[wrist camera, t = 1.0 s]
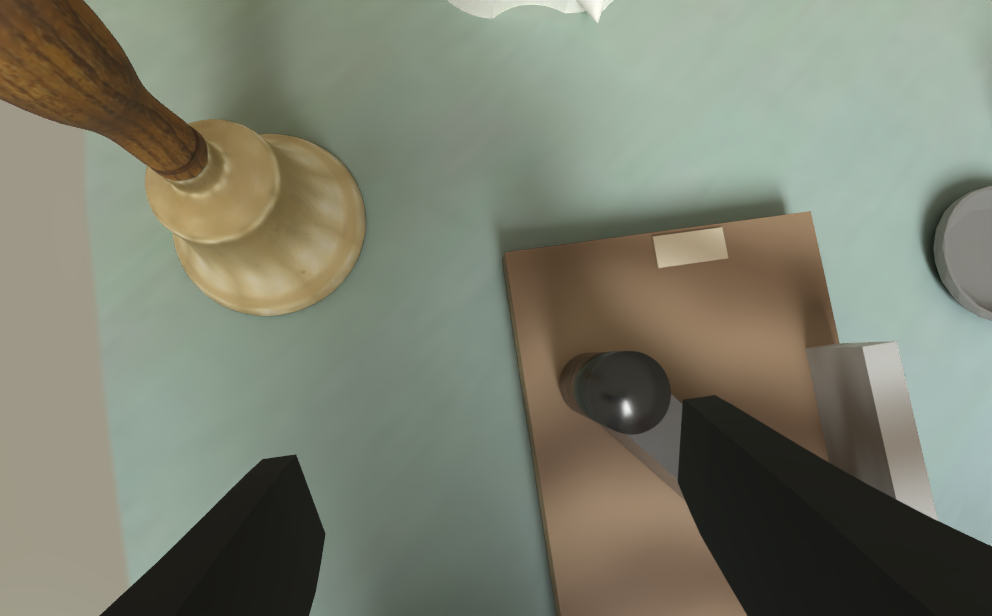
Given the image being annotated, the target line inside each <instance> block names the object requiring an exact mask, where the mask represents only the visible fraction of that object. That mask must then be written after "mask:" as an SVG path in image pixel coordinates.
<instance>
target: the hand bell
mask: <svg viewBox="0 0 992 616" xmlns="http://www.w3.org/2000/svg"><path fill="white" fill-rule="evenodd" d="M0 99H1V100H3V101H6V102H8V103H10V104H12V105H14V106H17V107H19V108H21V109H23V110H26V111H28V112H31V113H33V114H36V115H38V116H41V117H43V118H46V119H49V120H52V121H55V122H58V123H61V124H65V125H70V126H73V127H77V128H81V129H85V130H89V131H93V132H96V133H98V134H101V135H103V136H105V137H107V138H109V139H111V140H112V141H114V142H115V143H117V144H118V145H120V146H121V147H122V148H124V149H125V150H126V151H128V152H129V153H131V154H132V155H133V156H135V157H136V158H137V159H139V160H140V161H141V162H143V163H144V164H146V165H147V169H146V175H145V190H146V195H147V199H148V202H149V204H150V206H151V209H152V211H153V212H154V214H155V216H156V217H157V219H158V220H159V221H160V222H161V223H162V224H163V225H164V226H165V227H166V228H167V229H168V230H170V231H171V232H173V240H174V244H175V248H176V252H177V255H178V257H179V260H180V262H181V264H182V266H183V268H184V270H185V271H186V273H187V274H188V276H189V278H190V279H191V281H192V282H193V283H194V284H195V285H196V286H197V287H198V288H199V289H200V290H201V291H202V292H203V293H204V294H205V295H207V296H208V297H209V298H211V299H213V300H214V301H216V302H217V303H219V304H221V305H222V306H224V307H227V308H229V309H232V310H235V311H238V312H241V313H246V314H251V315H258V316H273V315H282V314H288V313H292V312H296V311H299V310H302V309H304V308H307V307H309V306H311V305H313V304H315V303H317V302H319V301H320V300H322V299H324V298H325V297H327V296H328V295H329V294H331V293H332V292H333V291H334V290H335V289H336V288H337V287H338V286H339V285H340V284H341V283H342V282H343V281H344V280H345V279H346V277H347V276H348V274H349V273H350V272H351V270H352V268H353V267H354V265H355V263H356V262H357V260H358V257H359V255H360V252H361V249H362V245H363V242H364V236H365V230H366V216H365V208H364V202H363V199H362V196H361V193H360V190H359V188H358V186H357V184H356V182H355V180H354V179H353V177H352V176H351V174H350V173H349V171H348V170H347V168H346V167H345V166H344V165H343V164H342V163H341V162H340V161H339V160H338V159H337V158H336V157H334V156H333V155H332V154H331V153H330V152H328V151H327V150H325V149H323V148H322V147H320V146H318V145H316V144H314V143H311V142H309V141H307V140H304V139H301V138H298V137H293V136H288V135H280V134H260V135H259V134H257V133H256V132H255V131H253V130H251V129H249V128H248V127H246V126H244V125H242V124H238V123H234V122H231V121H227V120H217V119H209V120H201V121H197V122H193V123H190V124H187V123H186V122H185V121H183V120H182V119H181V118H180V117H178V116H177V115H176V114H174V113H173V112H172V111H170V110H169V109H168V108H167V107H165V106H164V105H163V104H161V103H160V102H159V101H158V100H157V99H156V98H154V97H153V96H152V95H151V94H150V93H149V92H148V91H147V90H146V89H145V87H144V86H143V84H142V83H141V81H140V80H139V78H138V76H137V74H136V72H135V70H134V68H133V66H132V64H131V63H130V61H129V59H128V57H127V56H126V54H125V52H124V51H123V49H122V47H121V46H120V44H119V43H118V42H117V40H116V39H115V38H114V36H113V35H112V34H111V32H110V31H109V30H108V29H107V27H106V26H105V25H104V24H103V22H102V21H101V20H100V18H99V17H98V16H97V15H96V14H95V13H94V11H93V10H92V9H91V8H90V7H89V6H88V5H87V4H86V3H85V2H84V1H83V0H0Z"/></svg>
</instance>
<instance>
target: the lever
mask: <svg viewBox="0 0 992 616" xmlns="http://www.w3.org/2000/svg"><path fill="white" fill-rule="evenodd" d="M559 386H560V392H561V395H562V398H563V400H564V401H565V403H566V404H567V405H568V406H569V407H570V408H571V409H572V410H573V411H575V412H576V413H578V414H580V415H582V416H585V417H587V418H589V419H591V420H593V421H595V422H597V423H598V424H600V425H601V426H602V427H603V428H604V429H605V430H606V431H607V432H609V433H610V434H611V435H612V436H613V437H614V438H615V439H616V440H618V441H619V442H620V443H621V444H622V445H623V446H624V447H625V448H627V449H628V450H629V451H630V452H631V453H632V454H633V455H634V456H636V457H637V458H638V459H639V460H640V461H641V462H642V463H643V464H645V465H646V466H647V467H648V468H649V469H650V470H651V471H652V472H654V473H655V474H656V475H657V476H658V477H659V478H660V479H661V480H663V481H664V482H665V483H666V484H667V485H668V486H669V487H670V488H672V489H673V490H674V491H675V492H676V493H677V494H678V495H679V496H681V497H682V498H683V499H684V497H683V494H682V492H681V489H680V487H679V485H678V466H679V450H680V435H681V419H682V403H680V402H679V401H678V400H677V399H676V398H675V397H674V396H673V395H671V388H670V383H669V379H668V377H667V375H666V373H665V371H664V369H663V368H662V367H661V365H660V364H659V363H658V362H657V361H656V360H654V359H653V358H652V357H650V356H648V355H646V354H644V353H641V352H637V351H613V352H593V353H583V354H580V355H577V356H575V357H574V358H572V359H571V360H570V361H569V362H568V363H567V364H566V365H565V367H564V368H563V370H562V373H561V376H560V382H559ZM684 500H685V499H684Z"/></svg>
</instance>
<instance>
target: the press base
mask: <svg viewBox="0 0 992 616" xmlns="http://www.w3.org/2000/svg"><path fill="white" fill-rule="evenodd" d="M502 261H503V268H504V274H505V281H506V287H507V294H508V300H509V307H510V313H511V320H512V326H513V333H514V339H515V346H516V352H517V359H518V365H519V372H520V379H521V385H522V392H523V398H524V405H525V411H526V418H527V424H528V431H529V437H530V444H531V450H532V457H533V463H534V470H535V476H536V483H537V489H538V496H539V502H540V509H541V515H542V522H543V528H544V535H545V541H546V548H547V554H548V561H549V567H550V574H551V580H552V587H553V593H554V600H555V606H556V613H557V616H747V614H746V613H745V611H744V609H743V608H742V606H741V604H740V602H739V601H738V599H737V597H736V596H735V594H734V592H733V590H732V589H731V587H730V585H729V584H728V582H727V580H726V579H725V577H724V575H723V573H722V572H721V570H720V568H719V566H718V565H717V563H716V561H715V560H714V558H713V556H712V554H711V553H710V551H709V549H708V547H707V546H706V544H705V542H704V540H703V538H702V537H701V535H700V533H699V531H698V528H697V526H696V524H695V522H694V520H693V517H692V515H691V513H690V511H689V508H688V506H687V504H686V501H685V500H684V499H683V498H682V497H681V496H679V495H678V494H677V493H676V492H675V491H674V490H673V489H672V488H670V487H669V486H668V485H667V484H666V483H665V482H664V481H663V480H661V479H660V478H659V477H658V476H657V475H656V474H655V473H654V472H652V471H651V470H650V469H649V468H648V467H647V466H646V465H645V464H643V463H642V462H641V461H640V460H639V459H638V458H637V457H636V456H634V455H633V454H632V453H631V452H630V451H629V450H628V449H627V448H625V447H624V446H623V445H622V444H621V443H620V442H619V441H618V440H616V439H615V438H614V437H613V436H612V435H611V434H610V433H609V432H607V431H606V430H605V429H604V428H603V427H602V426H601V425H600V424H598V423H597V422H595V421H593V420H591V419H589V418H587V417H585V416H582V415H580V414H578V413H576V412H575V411H573V410H572V409H571V408H570V407H569V406H568V405H567V404H566V403H565V401H564V400H563V398H562V395H561V392H560V386H559V382H560V376H561V373H562V370H563V368H564V367H565V365H566V364H567V363H568V362H569V361H570V360H571V359H572V358H574V357H575V356H577V355H580V354H583V353H593V352H613V351H637V352H641V353H644V354H646V355H648V356H650V357H652V358H653V359H654V360H656V361H657V362H658V363H659V364H660V365H661V367H662V368H663V369H664V371H665V373H666V375H667V377H668V379H669V383H670V388H671V395H673V396H674V397H675V398H676V399H677V400H678V401H679V402H680V403H683V400H684V399H691V398H698V397H705V396H712V395H716V396H717V397H719V398H721V399H723V400H725V401H727V402H728V403H730V404H732V405H733V406H735V407H737V408H739V409H740V410H742V411H744V412H745V413H747V414H749V415H750V416H752V417H753V418H755V419H757V420H758V421H760V422H762V423H763V424H765V425H767V426H768V427H770V428H772V429H773V430H775V431H777V432H778V433H780V434H782V435H783V436H785V437H787V438H788V439H790V440H792V441H793V442H795V443H797V444H798V445H800V446H802V447H803V448H805V449H807V450H808V451H810V452H812V453H814V454H815V455H817V456H819V457H820V458H822V459H824V460H826V461H827V462H829V463H831V464H833V465H834V466H836V467H838V468H840V469H841V470H843V471H845V472H847V473H848V474H850V475H852V476H854V477H856V478H857V479H859V480H861V481H863V482H865V483H866V484H868V485H870V486H872V487H874V488H876V489H878V490H879V491H881V492H883V493H885V494H887V495H889V496H891V497H893V498H895V499H896V500H898V501H900V502H902V503H904V504H906V505H908V506H910V507H912V508H913V509H915V510H917V511H919V512H921V513H923V514H925V515H927V516H929V517H931V518H933V519H935V520H937V521H938V519H937V515H936V510H935V506H934V502H933V497H932V493H931V489H930V484H929V480H928V476H927V471H926V467H925V463H924V458H923V454H922V450H921V445H920V441H919V437H918V432H917V428H916V423H915V419H914V415H913V410H912V406H911V402H910V397H909V393H908V389H907V384H906V380H905V376H904V371H903V367H902V363H901V358H900V354H899V350H898V345H897V341H892V342H868V343H843V344H839V339H838V334H837V330H836V325H835V321H834V316H833V312H832V307H831V302H830V298H829V293H828V289H827V284H826V280H825V275H824V270H823V266H822V261H821V257H820V252H819V248H818V243H817V238H816V234H815V229H814V225H813V220H812V216H811V211H809V212H802V213H795V214H787V215H780V216H772V217H765V218H757V219H750V220H742V221H735V222H727V223H720V224H712V225H705V226H697V227H690V228H682V229H675V230H667V231H660V232H652V233H645V234H637V235H630V236H622V237H615V238H607V239H600V240H592V241H585V242H577V243H570V244H562V245H555V246H547V247H540V248H532V249H525V250H518V251H510V252H505V253H504V256H503V259H502Z"/></svg>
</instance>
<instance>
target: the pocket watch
mask: <svg viewBox="0 0 992 616" xmlns="http://www.w3.org/2000/svg"><path fill="white" fill-rule="evenodd" d="M933 249H934V257H935V264H936V267H937V270H938V272H939V275H940V278H941V281H942V283H943V284H944V285H945V287H946V288H947V290H948V291H949V292H950V294H951V295H952V296H953V297H954V298H955V300H956V301H957V302H958V303H959V304H960V305H962V306H963V307H964V308H966V309H968V310H969V311H971V312H973V313H974V314H976V315H977V316H979V317H981V318H985V319H988V320H991V321H992V186H988V187H983V188H979V189H976V190H973V191H970V192H968V193H967V194H965V195H963V196H962V197H960V198H958V199H957V200H955V201H954V202H953V203H952V204H951V205H950V206H949V207H948V208H947V209H946V211H945V212H944V214H943V216H942V218H941V220H940V222H939V224H938V226H937V228H936V233H935V240H934V246H933Z"/></svg>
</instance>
